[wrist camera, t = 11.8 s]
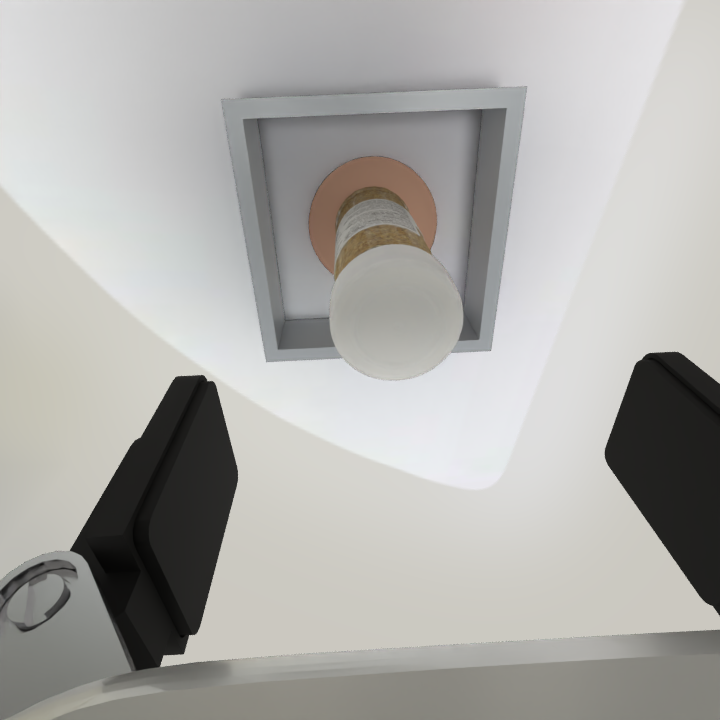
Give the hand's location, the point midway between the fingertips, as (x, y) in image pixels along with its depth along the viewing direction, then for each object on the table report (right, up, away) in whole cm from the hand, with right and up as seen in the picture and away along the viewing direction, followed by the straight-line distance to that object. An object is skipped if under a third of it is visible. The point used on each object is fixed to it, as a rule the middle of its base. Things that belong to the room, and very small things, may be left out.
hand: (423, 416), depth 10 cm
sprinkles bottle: (-1, +9, +16) cm, 19 cm away
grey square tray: (-1, +9, +16) cm, 19 cm away
